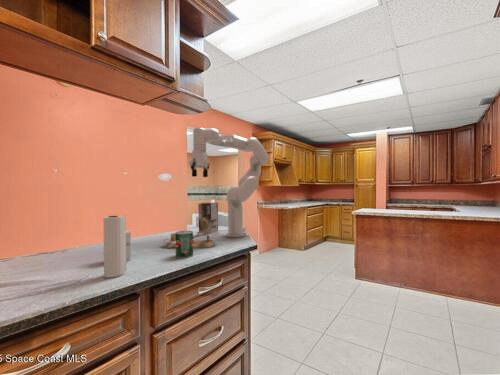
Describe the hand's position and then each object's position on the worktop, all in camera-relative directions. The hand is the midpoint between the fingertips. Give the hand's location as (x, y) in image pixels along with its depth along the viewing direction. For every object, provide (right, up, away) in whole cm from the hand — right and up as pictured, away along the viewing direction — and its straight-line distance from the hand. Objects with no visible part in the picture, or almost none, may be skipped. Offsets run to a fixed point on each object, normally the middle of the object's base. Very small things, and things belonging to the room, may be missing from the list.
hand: (200, 176), depth 149 cm
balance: (-2, -38, -15) cm, 41 cm away
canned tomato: (0, -38, -35) cm, 52 cm away
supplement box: (-27, -39, -42) cm, 63 cm away
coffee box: (+7, -31, -14) cm, 35 cm away
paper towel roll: (-19, -39, -60) cm, 73 cm away
